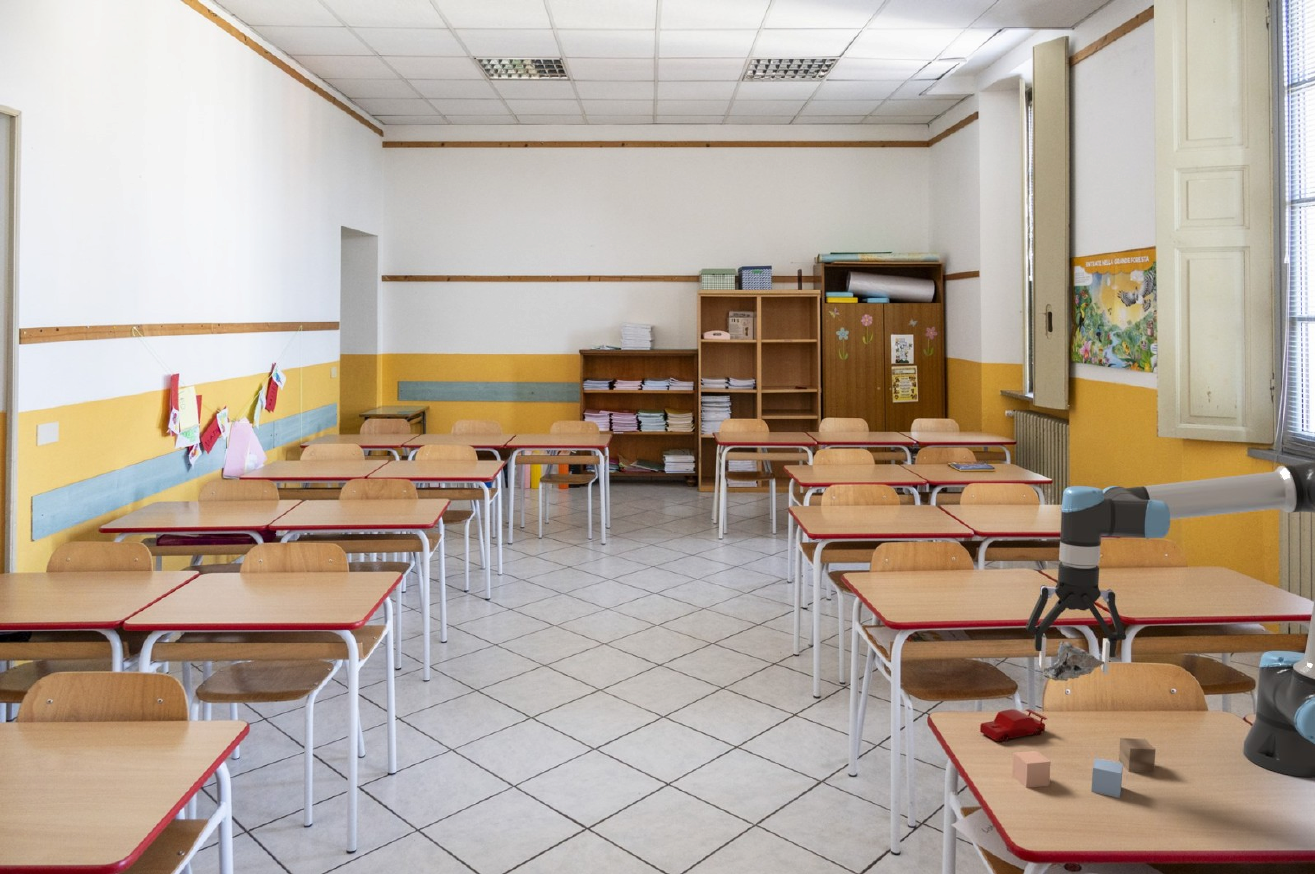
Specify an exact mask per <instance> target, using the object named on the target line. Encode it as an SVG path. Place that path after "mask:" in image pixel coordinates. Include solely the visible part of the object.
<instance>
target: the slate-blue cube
mask: <svg viewBox="0 0 1315 874" xmlns="http://www.w3.org/2000/svg"><path fill="white" fill-rule="evenodd" d="M1123 768H1124V766H1123V763H1121V762H1120V761H1118V762H1117V761H1113V760H1108V759H1102V758H1098V757H1094V761H1093V765H1092V775H1091V776H1092V777H1091V790H1090V791H1091V792H1092V793H1096V794H1101V795H1105V796H1109V797H1114V798H1121V791H1122V784H1123V783H1122V781H1123Z"/></svg>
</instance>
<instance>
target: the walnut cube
mask: <svg viewBox="0 0 1315 874" xmlns="http://www.w3.org/2000/svg"><path fill="white" fill-rule="evenodd" d="M1118 753H1119V754H1118V762H1119V763H1123V768H1125V769H1126V770H1127V771H1128V773H1130V772H1131V773H1155V765H1156V764H1155V762H1156V761H1155V760H1156V748H1155V747H1154V746H1153V745H1152V744H1151V743H1150V742H1149V741H1148V740H1147V739H1146V738H1129V737H1128V738H1126V737H1120V739H1119V752H1118Z"/></svg>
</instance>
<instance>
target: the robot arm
mask: <svg viewBox="0 0 1315 874" xmlns="http://www.w3.org/2000/svg"><path fill="white" fill-rule="evenodd" d="M1268 510H1269V511H1270V510H1282V511H1284V512H1285V513H1287V514H1288V513H1289V514H1291V513H1312V514H1313V513H1314V514H1315V461H1308V462H1300V463H1296V464H1295V463H1294V464H1288V465H1287V464H1286V465H1280V466H1277V468H1276V469H1275V470H1274V471H1269V472H1267V471H1266V472H1259V473H1251V474H1242V475H1241V474H1240V475H1233V476H1223V477H1216V478H1215V477H1214V478H1206V479H1197V480H1187V481H1180V482H1179V481H1177V482H1170V483H1161V484H1152V485H1144V486H1143V485H1142V486H1132V487H1123V486H1120V485H1119V486H1118V485H1113V486H1107V487H1106V488H1104V489H1102V488H1098V487H1095V486H1087V485H1085V486H1084V485H1072V486H1068V487H1066V488H1065V489H1064V491H1063V494H1062V502H1061V508H1060V512H1061V514H1060V535H1059V536H1060V537H1059V540H1060V541H1059V553H1058V554H1059V555H1058V560H1059V561H1060V562H1059V563H1058V570H1057V583H1056V586H1055V587H1054V586H1053V587H1052V586H1047V585H1045V584H1041V585H1040V589H1039V592H1040V593H1039V597H1038V599H1037V602H1036V604H1035V606H1034V608H1033V610H1032V612H1031V614H1030V615H1029V619H1028V620H1027V622H1026V624H1025V629H1026V631H1027V633H1029V634H1034V649H1035V651H1036V652H1039V661H1038V664H1039V667H1040V668H1039V669H1043V670H1044V669H1045V668H1046V653H1047V636H1046V634H1045V633H1046V631H1048V629H1049V628H1050V627H1051V626H1052V625H1053V624H1054V622H1055V621H1057V618H1058V617H1059V616H1060V615H1061V614H1062V613H1064V612H1065V610H1066V609H1068V610H1073V611H1074V610H1080V611H1083V612H1084V611H1085V612H1086V610H1089V611H1090V612H1091V614H1092V615H1093V617H1094V618H1095V620H1096V621H1097V623H1098V624H1099V626H1100V627H1101V629H1102V631H1103V632H1104V634H1105V635H1106V638H1104V637H1103V638H1102V653H1101V655H1102V656H1101V660H1102V661H1104V664H1103V665H1101V667H1100V668H1101V671H1102V672H1103V675H1109V669H1110V668H1109V666H1110V663H1109V661H1110V658H1114V657H1115V655H1116V644H1117V642H1118V641H1121V640H1122V641H1124V640H1126V639H1127V634H1126V632H1125V629H1124V626H1123V624H1122V620H1121V618H1120V614H1119V611H1118V609H1117V606H1116V593H1115V591H1113V589H1107V590H1101V589H1100V588H1099V582H1100V581H1099V580H1100V567H1099V566H1098V565H1099V564H1100V562H1101V544H1102V537H1122V538H1135V539H1136V538H1138V539H1146V540H1149V539H1163V538H1165V537H1166V536H1167V535H1168V534H1169V531H1170V526H1171V520H1178V519H1180V520H1181V519H1188V518H1189V519H1191V518H1199V517H1201V518H1202V517H1209V516H1220V515H1227V514H1228V515H1230V514H1240V513H1250V512H1259V511H1268ZM1054 594H1055V595H1056V596H1057V597H1058V599H1057V601H1056V602H1055V604H1054V606H1053V607H1052V608H1051V609H1050V611H1049V612H1048V613H1047V614H1046V616H1044V618H1043V619H1042V620H1041V622H1040V623H1039V624H1038V622H1039V620H1040V617H1041V616H1042V614H1043V613H1044V609H1045V607H1046V605H1047V603H1048V599H1050V598H1052V596H1053V595H1054ZM1100 597H1101V598H1102V600H1103V602H1105V603H1106V605H1107V609H1108V611H1109V613H1110V616H1111V620H1112V622H1113V626H1114V628H1115V629H1114V630H1115V632H1112V631H1113V630H1111V628H1110V627H1109V625H1108V624H1107V623H1106V621H1105V619H1104V617H1103V616H1102V614H1101V613H1100V611H1099V610H1098V609H1097V607H1096V605H1095V603H1096V602H1097V600H1099V598H1100ZM1258 669H1259V670H1258V671H1259V672H1258V684H1257V685H1258V686H1257V697H1256V710H1255V711H1256V712H1255V719H1254V722H1253V723H1252V726H1251V727H1250V729H1249V731H1248V733H1247V735H1246V737H1245V739H1244V742H1243V749H1242V754H1243V755H1244V757H1246V758H1247V760H1249V761H1250V762H1251V763H1254V764H1255V765H1258V766H1259V767H1262V768H1264V769H1266V770H1267V769H1268V770H1270V771H1273V772H1277V773H1281V774H1284V775H1290V776H1295V777H1306V778H1311V777H1312V778H1313V777H1315V598H1314V600H1313V607H1312V611H1311V617H1310V623H1309V630H1308V634H1307V641H1306V647H1305V651H1304V652H1303V653H1302V652H1297V651H1286V650H1285V651H1284V650H1269V651H1266V652H1264V653H1263V654H1262V655H1261V658H1260V663H1259V665H1258Z"/></svg>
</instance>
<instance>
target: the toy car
mask: <svg viewBox="0 0 1315 874" xmlns="http://www.w3.org/2000/svg"><path fill="white" fill-rule="evenodd" d="M1025 711H1026V712H1028V714H1026V713H1024V712H1022V711H1020V710H1019V709H1015V708H1011V709H1004V710H1001V711H998V712H997V714H996V716H995V717H994V720H991V721H987V722H981V723H980V725H979V726H980V729H979V730H980V731H979V732H980V733H982V734H983V735H985V736H987V737H988V738H990V739H992V740H994V741H995V742H1000V743H1004V742H1007V741H1008V740H1009V739H1014V738H1020V737H1024V736H1025V737H1026V736H1030V735H1033V734H1034V736H1035V735H1036V736H1041V735H1042V734H1043V733H1045V731H1046V724H1045V722H1043V720H1048V718H1047V717H1045V716H1043V715H1042V714H1039V713H1037V712H1035V711H1034V710H1032V709H1029V708H1028V709H1025ZM1031 715H1034V716H1036V717H1037V718H1040V720H1039V719H1036V718H1035V717H1033V716H1031Z"/></svg>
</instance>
